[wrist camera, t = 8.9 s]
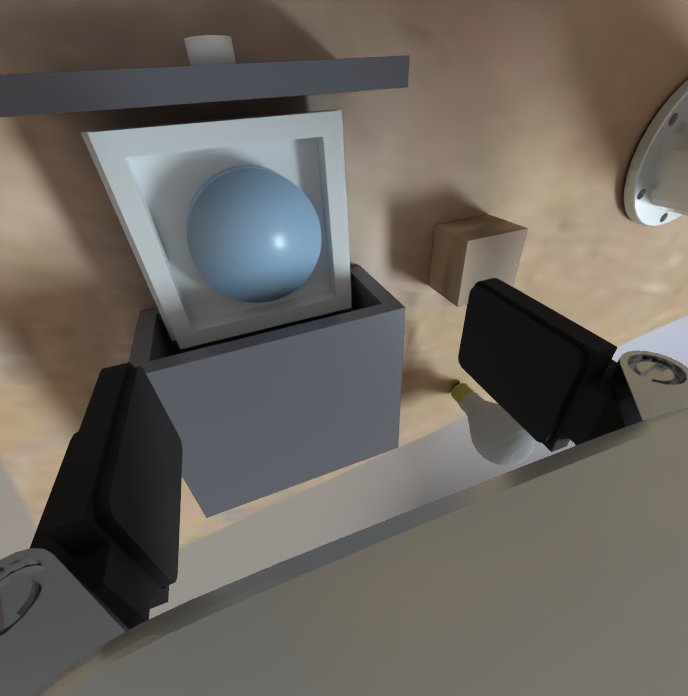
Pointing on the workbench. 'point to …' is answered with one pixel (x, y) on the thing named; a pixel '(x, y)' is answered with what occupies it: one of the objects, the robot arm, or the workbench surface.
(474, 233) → the brown block
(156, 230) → the grey drawer
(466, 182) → the workbench surface
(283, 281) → the pale blue dome cap
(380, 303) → the box
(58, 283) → the workbench surface
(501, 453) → the light bulb
